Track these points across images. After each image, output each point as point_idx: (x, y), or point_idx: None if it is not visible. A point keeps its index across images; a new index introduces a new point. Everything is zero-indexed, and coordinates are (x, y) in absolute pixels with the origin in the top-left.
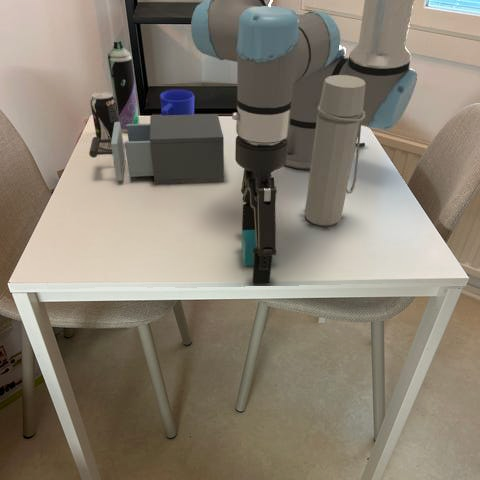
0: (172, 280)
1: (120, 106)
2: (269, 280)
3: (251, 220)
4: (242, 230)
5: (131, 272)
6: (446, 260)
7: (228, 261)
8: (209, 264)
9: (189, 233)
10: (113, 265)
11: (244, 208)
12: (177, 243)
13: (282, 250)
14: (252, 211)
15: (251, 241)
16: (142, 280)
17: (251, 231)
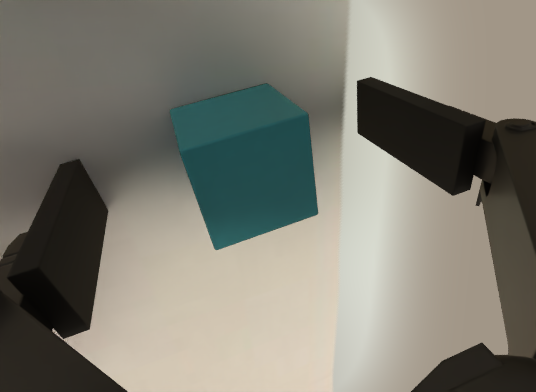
0: (336, 297)
1: None
2: (375, 80)
3: (78, 231)
4: (217, 249)
5: (310, 359)
6: None
7: None
8: (277, 255)
9: (133, 343)
10: (290, 387)
11: (89, 312)
12: (192, 344)
13: (150, 29)
14: (66, 265)
15: (297, 199)
16: (334, 336)
17: (220, 215)
